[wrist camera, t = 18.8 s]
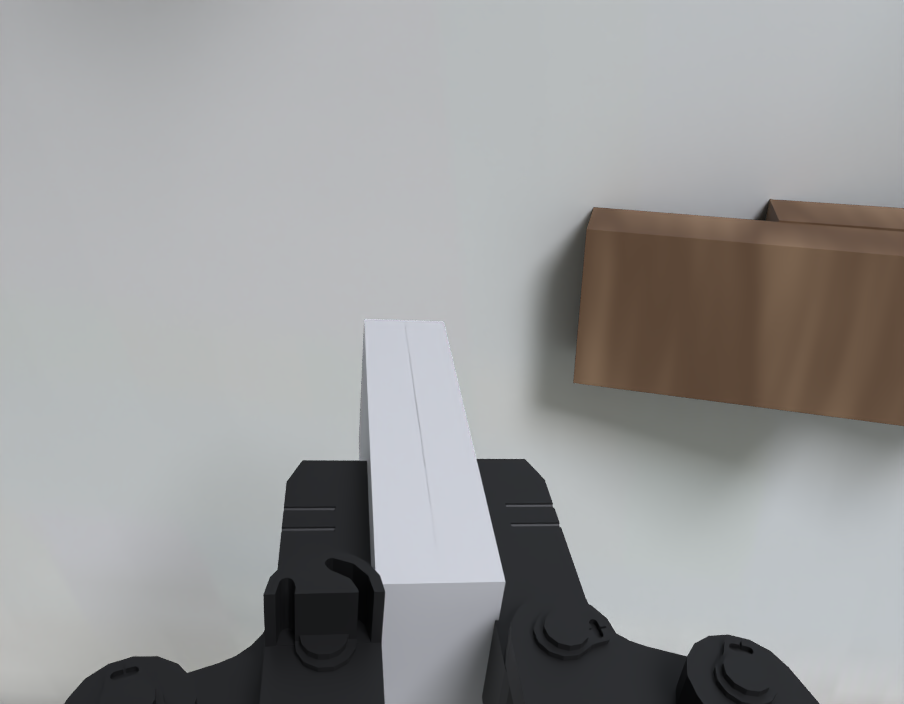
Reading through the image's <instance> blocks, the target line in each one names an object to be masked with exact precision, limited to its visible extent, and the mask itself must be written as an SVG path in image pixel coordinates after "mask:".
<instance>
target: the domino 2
mask: <svg viewBox="0 0 904 704" xmlns="http://www.w3.org/2000/svg"><path fill="white" fill-rule="evenodd" d="M765 221H774V222H786V223H799V224H812V225H824V226H837V227H849V228H862V229H875V230H887V231H900V232H904V208H891V207H876V206H861V205H846V204H832V203H817V202H802V201H787V200H772V199H770V201H769V206H768V210H767V215H766V220H765Z"/></svg>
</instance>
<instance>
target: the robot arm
mask: <svg viewBox="0 0 904 704" xmlns="http://www.w3.org/2000/svg"><path fill="white" fill-rule="evenodd" d="M552 504H553V503H552V500H551V497H550V494H549V491H548V488H547V485H546V483H545V480H544V479H543V478H542V477H541V475H540V474H539V473H538V472H537V471H536V470H535V469H534V468H533V467H532V466H531V465H530V464H529V463H528V462H527V461H526V460H525V459H476V455H475V451H474V446H473V442H472V438H471V434H470V430H469V425H468V421H467V417H466V413H465V408H464V404H463V400H462V396H461V391H460V387H459V383H458V379H457V375H456V370H455V366H454V362H453V358H452V353H451V349H450V345H449V341H448V336H447V332H446V328H445V324H444V321H416V320H383V319H364V336H363V358H362V381H361V403H360V425H359V461H306V460H303V461H302V462H301V463H300V465H299V466H298V467H297V469H296V470H295V471H294V473H293V474H292V475H291V477H290V478H289V479H288V481H287V484H286V493H285V503H284V513H283V523H282V532H281V542H280V552H279V561H278V570H277V571H276V572H275V573H274V574H273V575H272V576H271V577H270V579H269V582H268V584H267V587H266V589H265V592H264V624H265V631H264V633H263V634H262V635H261V636H260V637H259V638H258V639H257V640H256V641H255V642H254V643H253V644H252V645H251V646H250V647H249V648H247V649H246V650H244V651H243V652H241V653H240V654H238V655H237V656H235V657H232V658H230V659H228V660H225V661H223V662H220V663H218V664H215V665H212V666H208V667H205V668H202V669H199V670H196V671H192V672H189V673H186V672H185V671H184V670H183V669H182V668H181V666H180V665H179V664H177V663H174V662H171V661H169V660H166V659H163V658H161V657H158V656H153V657H152V656H151V657H150V656H149V657H130V658H127V659H124V660H120V661H117V662H114V663H110V664H108V665H106V666H105V667H103V668H101V669H100V670H98V671H97V672H95V673H93V674H92V675H90V676H89V677H87V678H85V680H84V681H83V682H82V683H81V684H80V685H79V686H78V687H77V689H76V690H75V691H74V692H73V693H72V694H71V695H70V696H69V698H68V699H67V700H66V702H65V704H819V702H818V701H817V700H816V699H815V698H814V697H813V695H812V694H811V693H810V692H809V691H808V690H807V688H806V687H805V686H804V685H803V684H802V683H801V681H800V680H799V679H798V678H797V677H796V676H795V674H794V673H793V672H792V671H791V670H790V669H789V667H788V666H786V665H785V664H784V663H783V662H782V661H781V660H780V659H779V658H778V657H776V656H775V655H774V654H773V653H772V652H771V651H769V650H767V649H766V648H764V647H762V646H760V645H758V644H756V643H754V642H753V641H751V640H748V639H744V638H740V637H736V636H731V635H716V636H708V637H706V638H704V639H702V640H701V641H699V642H697V643H695V644H694V645H693V647H692V649H691V651H690V652H689V654H688V656H683V655H679V654H675V653H671V652H667V651H663V650H659V649H655V648H651V647H647V646H643V645H641V644H638V643H635V642H632V641H629V640H627V639H625V638H624V637H622V636H620V635H618V634H616V632H615V631H614V629H613V628H612V626H611V624H610V623H609V621H608V619H607V618H606V617H605V616H603V615H602V614H601V613H600V612H599V611H597V610H596V609H595V608H594V607H593V606H591V605H589V604H588V602H587V600H586V598H585V595H584V592H583V589H582V586H581V584H580V581H579V578H578V575H577V572H576V569H575V566H574V563H573V560H572V558H571V555H570V552H569V549H568V546H567V543H566V540H565V537H564V535H563V532H562V529H561V527H559V520H558V517H557V514H556V511H555V509H554V508H553V506H552Z"/></svg>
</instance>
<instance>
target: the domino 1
mask: <svg viewBox="0 0 904 704" xmlns="http://www.w3.org/2000/svg"><path fill="white" fill-rule="evenodd" d="M573 383H578V384H586V385H594V386H601V387H609V388H617V389H624V390H632V391H640V392H647V393H655V394H663V395H670V396H678V397H686V398H693V399H701V400H709V401H716V402H724V403H732V404H739V405H747V406H755V407H762V408H770V409H778V410H785V411H793V412H801V413H808V414H816V415H824V416H831V417H839V418H847V419H854V420H862V421H870V422H877V423H885V424H893V425H900V426H904V232H900V231H887V230H875V229H862V228H849V227H837V226H824V225H812V224H799V223H786V222H774V221H761V220H748V219H736V218H723V217H710V216H698V215H685V214H673V213H660V212H647V211H635V210H622V209H609V208H597V207H594V208H593V211H592V214H591V217H590V220H589V223H588V226H587V230H586V242H585V253H584V265H583V276H582V288H581V300H580V311H579V323H578V334H577V346H576V358H575V369H574V381H573Z"/></svg>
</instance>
